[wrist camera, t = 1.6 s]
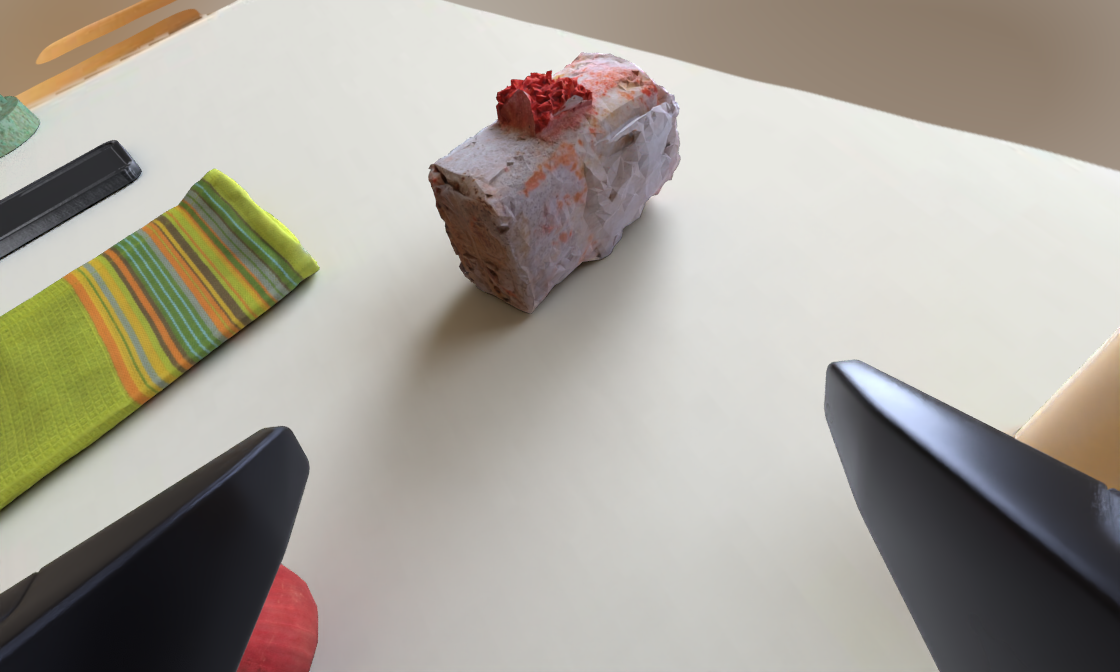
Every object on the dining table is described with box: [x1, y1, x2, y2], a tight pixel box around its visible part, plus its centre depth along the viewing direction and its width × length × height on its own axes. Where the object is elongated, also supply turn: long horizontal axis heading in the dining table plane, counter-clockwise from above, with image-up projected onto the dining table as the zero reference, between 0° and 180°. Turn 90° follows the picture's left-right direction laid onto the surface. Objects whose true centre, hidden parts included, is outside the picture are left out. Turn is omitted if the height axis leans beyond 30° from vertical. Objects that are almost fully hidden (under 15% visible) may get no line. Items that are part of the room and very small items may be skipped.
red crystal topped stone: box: [428, 52, 681, 314], centre depth 31 cm, size 14×8×10 cm, turn 138°
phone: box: [0, 140, 142, 258], centre depth 50 cm, size 8×1×15 cm
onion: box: [237, 564, 318, 672], centre depth 19 cm, size 6×6×8 cm
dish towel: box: [0, 169, 320, 510], centre depth 34 cm, size 15×36×3 cm, turn 136°
